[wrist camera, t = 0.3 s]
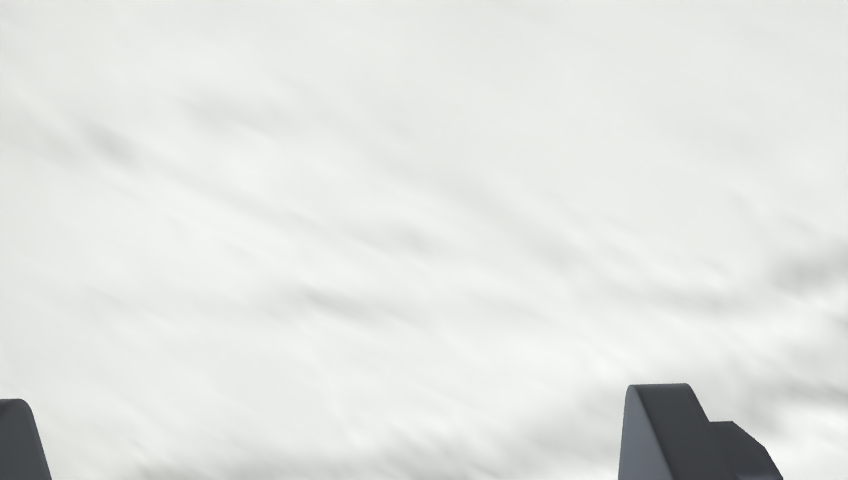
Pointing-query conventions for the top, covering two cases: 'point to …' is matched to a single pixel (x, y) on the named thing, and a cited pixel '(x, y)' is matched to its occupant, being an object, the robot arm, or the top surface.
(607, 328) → the top surface
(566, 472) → the top surface
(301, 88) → the top surface
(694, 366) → the top surface
